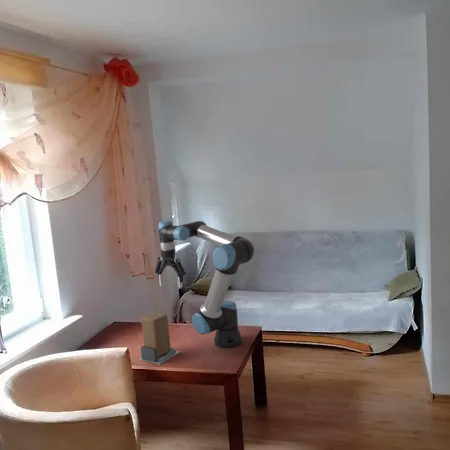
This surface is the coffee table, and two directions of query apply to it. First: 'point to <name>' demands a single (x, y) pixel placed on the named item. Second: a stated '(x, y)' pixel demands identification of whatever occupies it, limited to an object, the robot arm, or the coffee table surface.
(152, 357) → the grey l-shaped piece
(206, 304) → the robot arm
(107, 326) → the coffee table surface
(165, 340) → the block
